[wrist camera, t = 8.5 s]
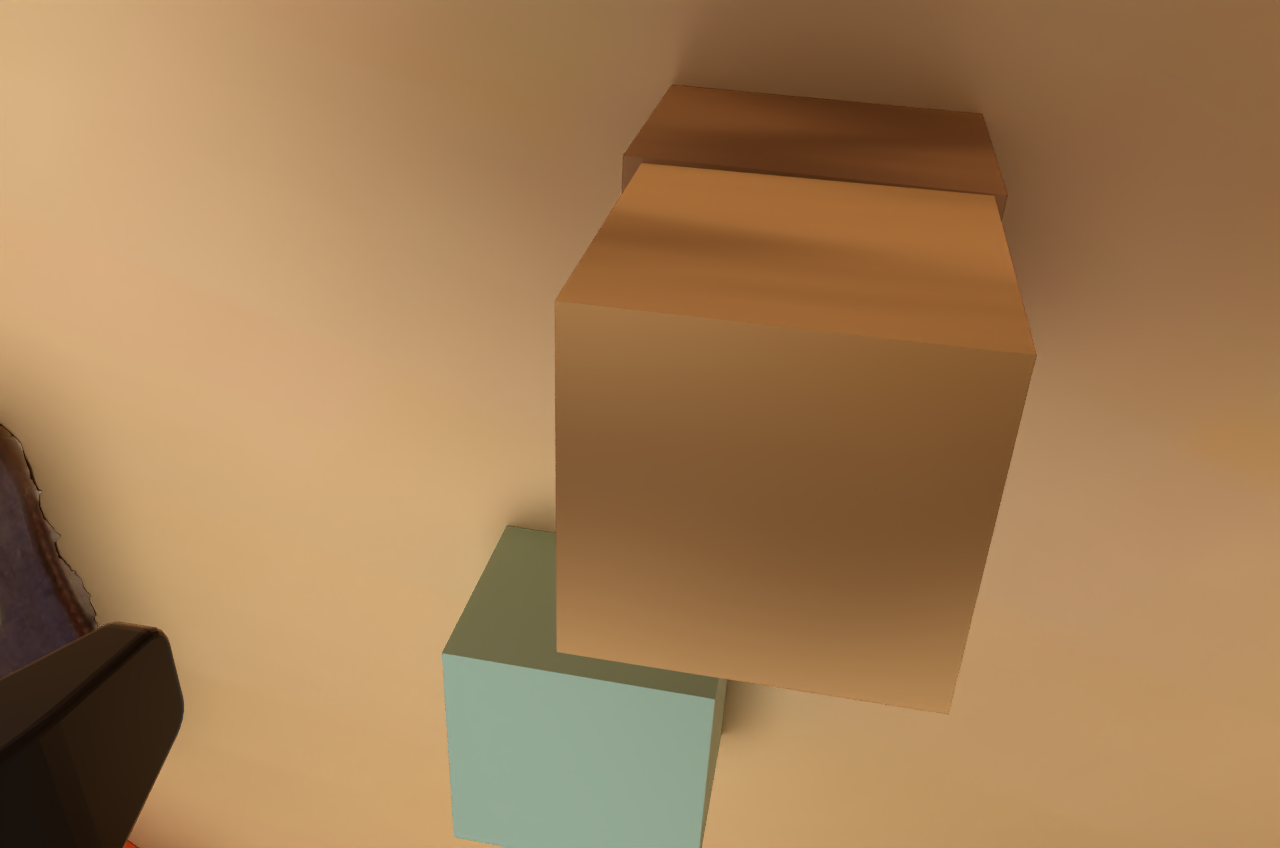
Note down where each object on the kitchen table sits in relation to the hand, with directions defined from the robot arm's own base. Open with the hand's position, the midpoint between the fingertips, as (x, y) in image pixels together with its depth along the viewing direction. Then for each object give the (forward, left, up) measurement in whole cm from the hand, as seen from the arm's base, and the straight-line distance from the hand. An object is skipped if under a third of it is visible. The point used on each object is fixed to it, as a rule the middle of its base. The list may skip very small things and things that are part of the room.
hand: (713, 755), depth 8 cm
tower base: (+3, +9, -12) cm, 15 cm away
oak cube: (0, 0, -8) cm, 8 cm away
